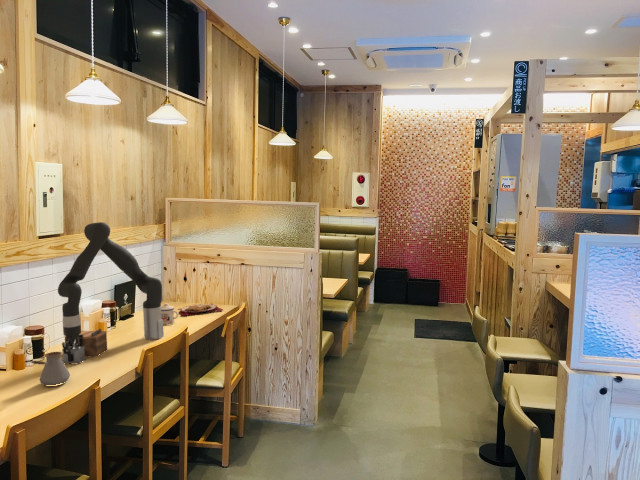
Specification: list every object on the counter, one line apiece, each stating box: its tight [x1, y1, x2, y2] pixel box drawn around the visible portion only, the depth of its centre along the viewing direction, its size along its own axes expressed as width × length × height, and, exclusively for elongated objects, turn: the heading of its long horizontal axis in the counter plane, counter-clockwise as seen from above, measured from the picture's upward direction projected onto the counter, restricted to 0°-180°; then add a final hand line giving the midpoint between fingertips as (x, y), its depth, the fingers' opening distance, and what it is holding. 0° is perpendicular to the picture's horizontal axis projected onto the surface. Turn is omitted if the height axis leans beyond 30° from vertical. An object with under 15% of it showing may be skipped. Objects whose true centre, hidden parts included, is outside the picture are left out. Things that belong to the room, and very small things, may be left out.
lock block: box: [61, 346, 86, 364], centre depth 240 cm, size 8×5×7 cm, turn 85°
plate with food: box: [176, 303, 224, 316], centre depth 340 cm, size 25×26×4 cm
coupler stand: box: [64, 328, 108, 357], centre depth 253 cm, size 16×10×11 cm, turn 86°
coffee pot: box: [30, 351, 71, 386], centre depth 209 cm, size 21×12×15 cm, turn 178°
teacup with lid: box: [161, 302, 179, 325], centre depth 309 cm, size 12×9×12 cm
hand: (74, 359), depth 240 cm, fingers closed on lock block, 5 cm apart
